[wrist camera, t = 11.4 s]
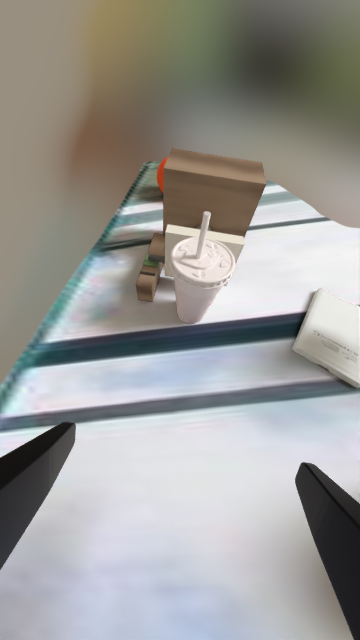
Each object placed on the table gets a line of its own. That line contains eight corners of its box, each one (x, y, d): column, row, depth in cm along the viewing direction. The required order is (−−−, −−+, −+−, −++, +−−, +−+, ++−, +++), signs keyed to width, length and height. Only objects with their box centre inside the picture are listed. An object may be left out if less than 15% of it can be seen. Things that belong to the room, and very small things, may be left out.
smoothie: (161, 300, 27) (160, 195, 15) (201, 289, 29) (229, 187, 17) (177, 338, 24) (192, 246, 13) (221, 324, 26) (271, 231, 14)
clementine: (191, 207, 40) (197, 167, 34) (158, 207, 40) (157, 165, 33) (186, 188, 44) (190, 149, 38) (156, 187, 44) (155, 147, 37)
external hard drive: (366, 320, 29) (353, 389, 23) (312, 293, 31) (289, 351, 25) (376, 314, 28) (365, 386, 22) (320, 286, 30) (296, 346, 24)
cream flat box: (226, 285, 28) (243, 244, 22) (148, 273, 28) (144, 228, 22) (226, 278, 29) (243, 236, 23) (150, 265, 29) (147, 221, 23)
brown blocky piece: (233, 315, 27) (276, 241, 17) (138, 299, 27) (123, 216, 17) (233, 241, 36) (262, 162, 25) (161, 229, 36) (161, 146, 26)
